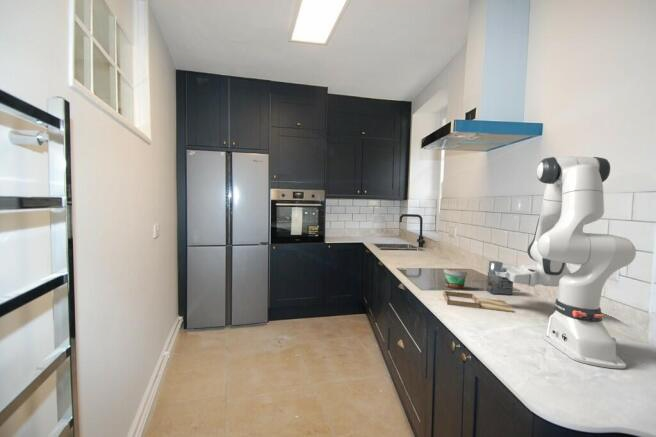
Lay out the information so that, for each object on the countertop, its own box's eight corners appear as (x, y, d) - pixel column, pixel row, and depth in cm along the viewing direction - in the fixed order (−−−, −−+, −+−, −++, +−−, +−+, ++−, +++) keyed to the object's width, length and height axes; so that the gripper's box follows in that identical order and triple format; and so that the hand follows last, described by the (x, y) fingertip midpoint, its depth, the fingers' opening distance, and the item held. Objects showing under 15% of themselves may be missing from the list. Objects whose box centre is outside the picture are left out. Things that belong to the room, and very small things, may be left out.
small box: (506, 291, 155) (507, 272, 154) (512, 295, 148) (514, 276, 148) (485, 290, 156) (487, 271, 155) (491, 294, 150) (493, 274, 149)
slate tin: (502, 287, 130) (504, 264, 129) (489, 286, 132) (491, 263, 131) (498, 284, 136) (500, 261, 135) (485, 282, 137) (487, 260, 136)
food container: (443, 288, 157) (444, 270, 156) (442, 285, 163) (443, 268, 162) (467, 291, 153) (469, 273, 152) (466, 288, 159) (467, 270, 158)
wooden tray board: (515, 312, 126) (515, 307, 125) (447, 304, 133) (447, 300, 132) (504, 301, 139) (504, 297, 139) (443, 294, 146) (443, 290, 146)
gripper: (518, 262, 140) (487, 260, 143) (537, 273, 120) (500, 270, 123) (517, 275, 140) (486, 272, 144) (536, 287, 120) (499, 284, 124)
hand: (493, 271), depth 133 cm, fingers closed on slate tin, 5 cm apart
